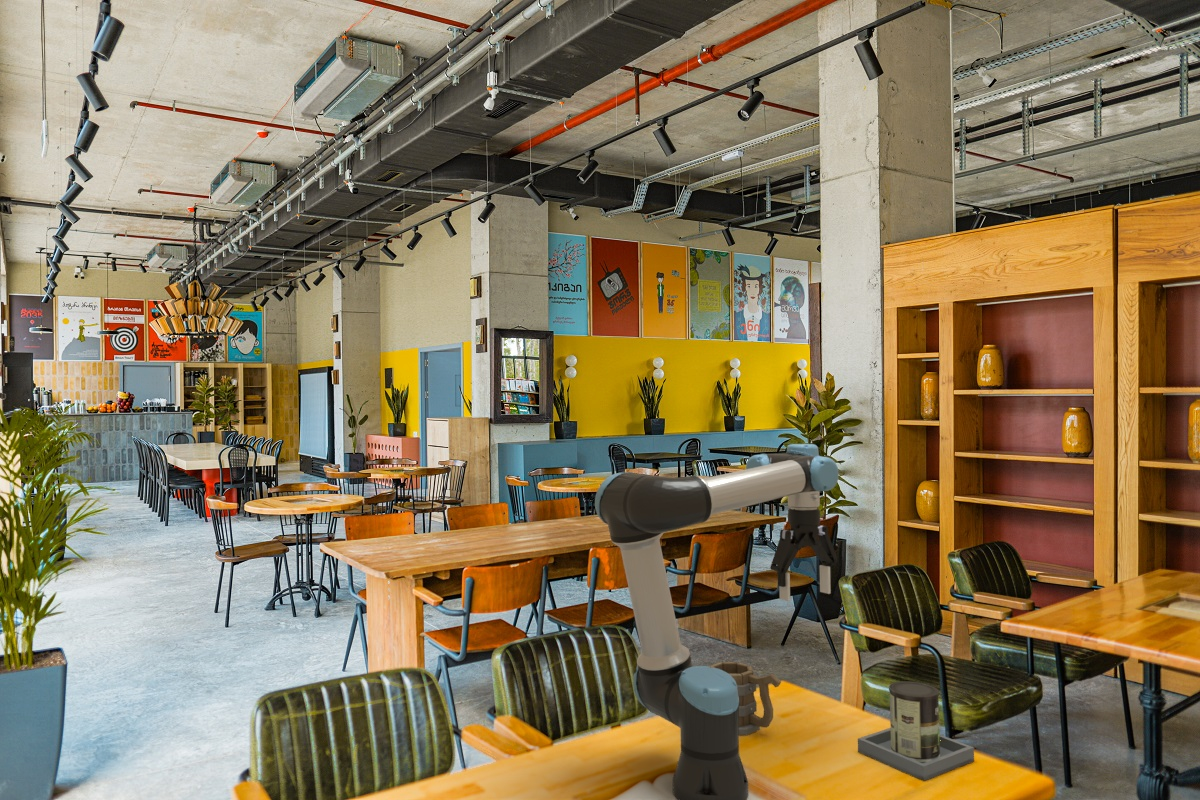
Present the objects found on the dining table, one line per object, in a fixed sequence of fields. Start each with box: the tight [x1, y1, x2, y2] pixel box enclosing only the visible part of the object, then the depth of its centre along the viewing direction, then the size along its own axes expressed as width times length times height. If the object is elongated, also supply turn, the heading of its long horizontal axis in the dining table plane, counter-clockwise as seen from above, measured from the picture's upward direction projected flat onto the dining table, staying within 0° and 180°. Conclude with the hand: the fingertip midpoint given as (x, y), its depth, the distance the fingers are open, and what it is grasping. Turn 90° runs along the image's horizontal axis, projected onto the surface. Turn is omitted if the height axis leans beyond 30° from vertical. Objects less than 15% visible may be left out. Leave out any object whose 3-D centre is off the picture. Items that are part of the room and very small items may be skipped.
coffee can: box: [888, 680, 940, 763], centre depth 176 cm, size 10×10×14 cm
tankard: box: [709, 661, 782, 736], centre depth 192 cm, size 20×13×15 cm, turn 42°
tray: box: [857, 727, 975, 782], centre depth 176 cm, size 17×17×3 cm
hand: (805, 596), depth 193 cm, fingers open, 13 cm apart
